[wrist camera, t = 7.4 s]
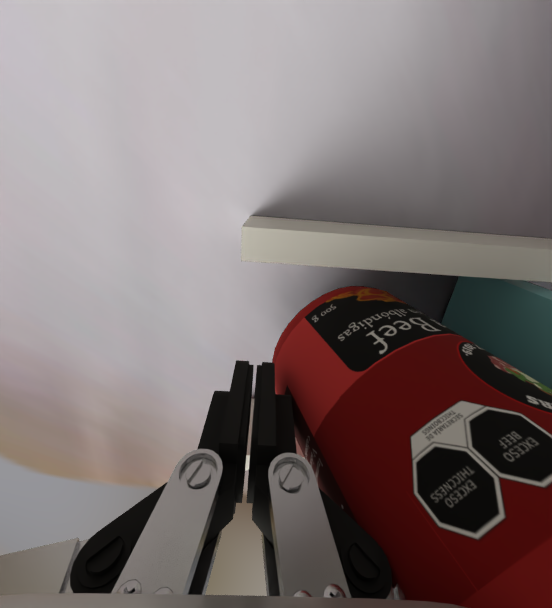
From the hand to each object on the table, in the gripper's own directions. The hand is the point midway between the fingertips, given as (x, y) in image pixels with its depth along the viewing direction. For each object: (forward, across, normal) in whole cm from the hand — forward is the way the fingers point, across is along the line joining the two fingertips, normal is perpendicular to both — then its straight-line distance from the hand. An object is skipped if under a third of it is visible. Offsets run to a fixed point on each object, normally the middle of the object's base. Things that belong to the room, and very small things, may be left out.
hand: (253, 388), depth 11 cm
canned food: (+3, -4, 0) cm, 5 cm away
